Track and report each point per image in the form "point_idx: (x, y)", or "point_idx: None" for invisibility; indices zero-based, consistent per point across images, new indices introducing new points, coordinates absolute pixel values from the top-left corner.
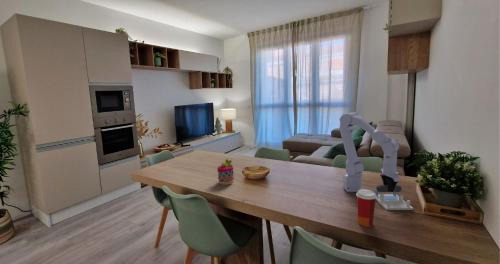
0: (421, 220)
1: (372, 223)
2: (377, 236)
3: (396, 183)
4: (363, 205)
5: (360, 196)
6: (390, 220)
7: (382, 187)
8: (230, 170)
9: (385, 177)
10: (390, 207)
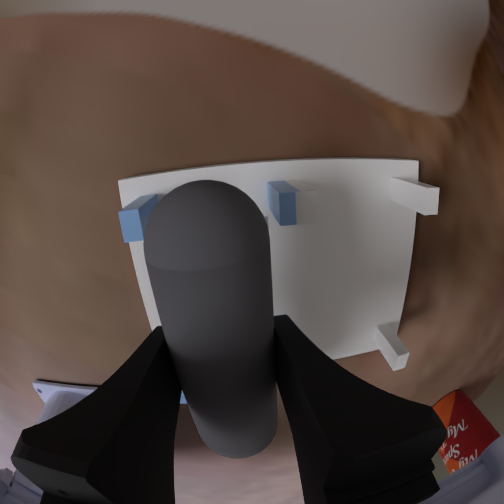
0: (497, 192)
1: (465, 395)
2: (495, 375)
3: (375, 393)
4: None
5: None
6: (465, 334)
7: (270, 434)
8: None
9: (161, 499)
10: (394, 321)
